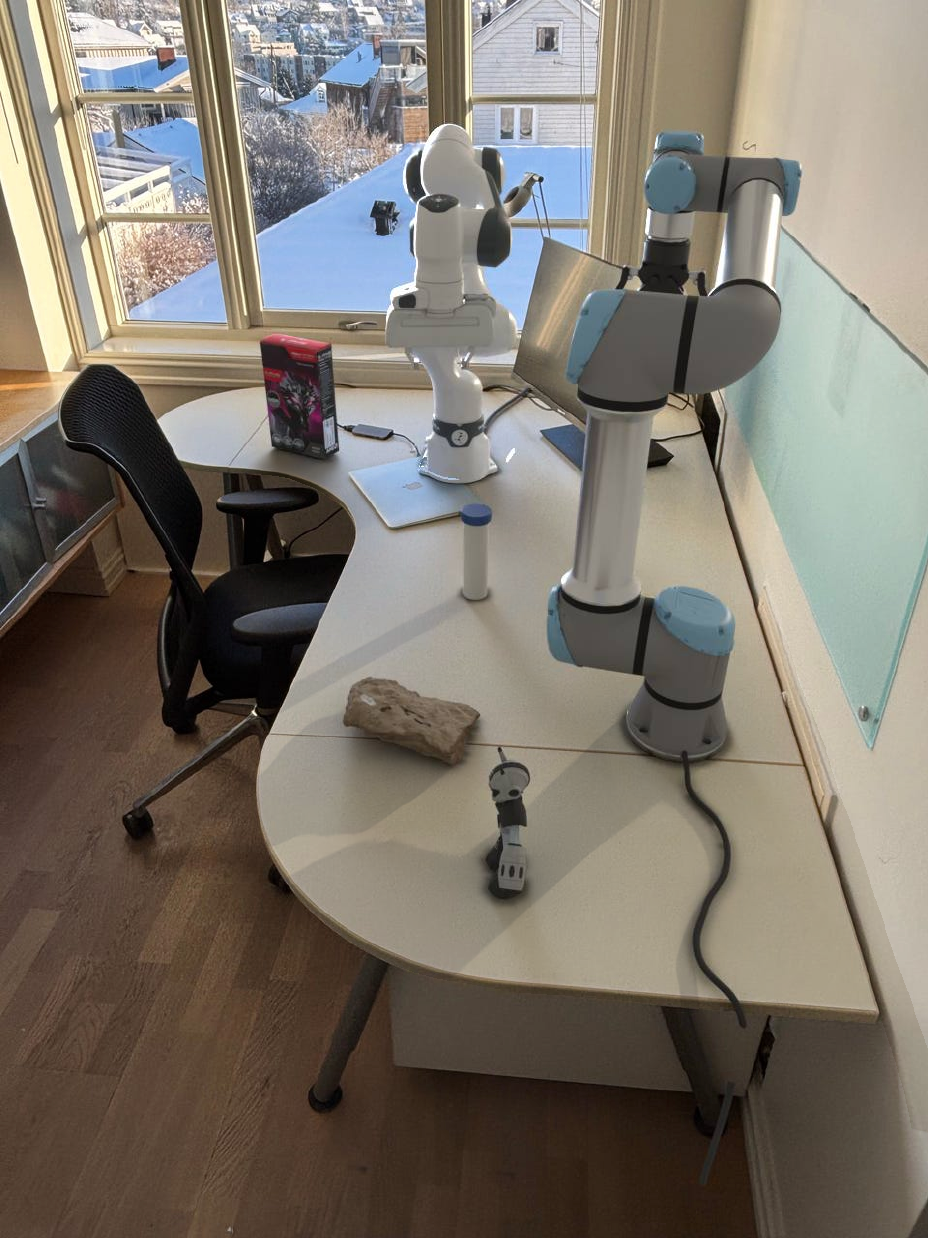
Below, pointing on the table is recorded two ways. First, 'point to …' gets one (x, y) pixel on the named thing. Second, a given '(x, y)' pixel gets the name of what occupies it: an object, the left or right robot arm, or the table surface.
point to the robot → (508, 827)
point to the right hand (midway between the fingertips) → (652, 364)
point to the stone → (410, 718)
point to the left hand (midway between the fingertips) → (439, 369)
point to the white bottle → (475, 561)
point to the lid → (476, 514)
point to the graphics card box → (300, 395)
